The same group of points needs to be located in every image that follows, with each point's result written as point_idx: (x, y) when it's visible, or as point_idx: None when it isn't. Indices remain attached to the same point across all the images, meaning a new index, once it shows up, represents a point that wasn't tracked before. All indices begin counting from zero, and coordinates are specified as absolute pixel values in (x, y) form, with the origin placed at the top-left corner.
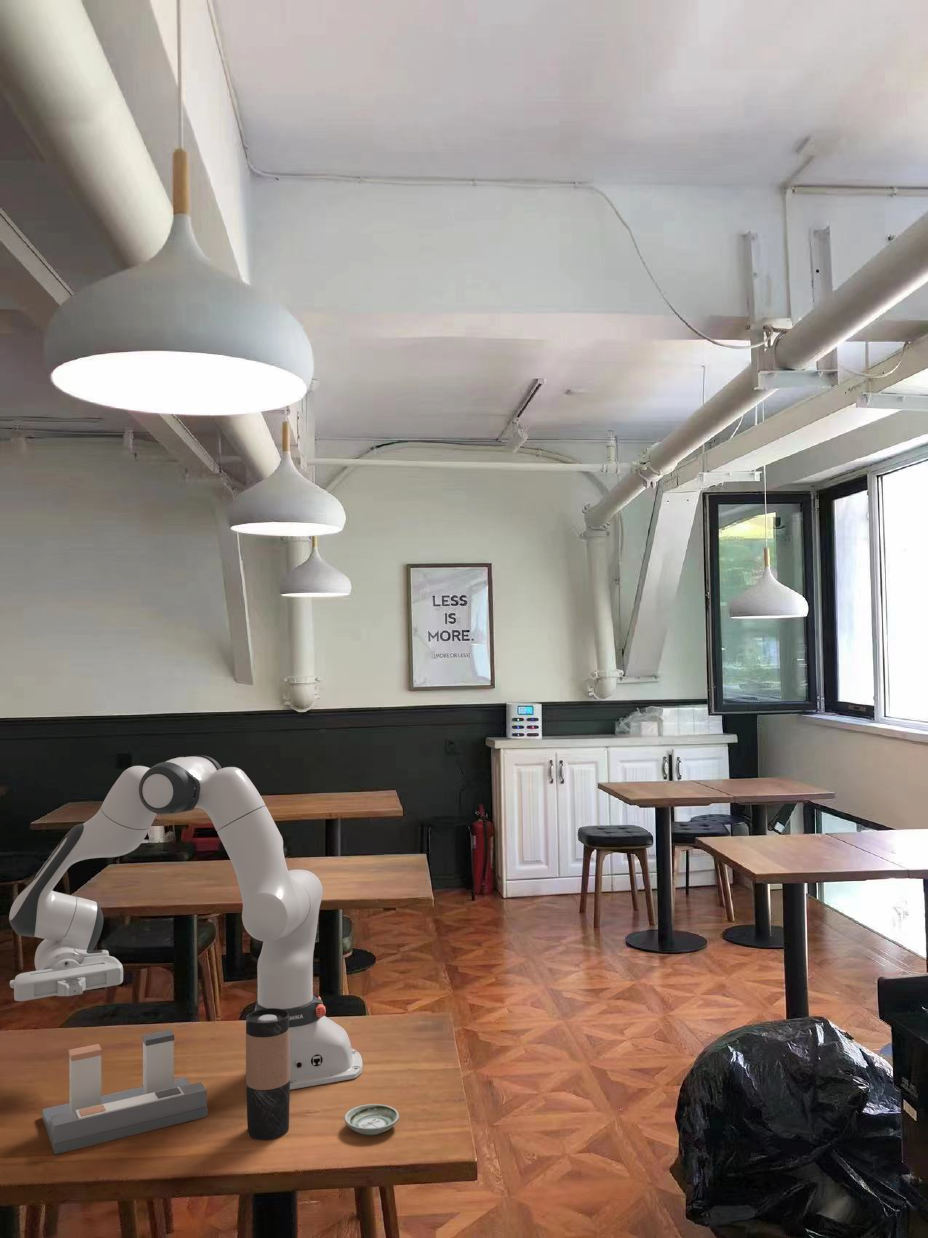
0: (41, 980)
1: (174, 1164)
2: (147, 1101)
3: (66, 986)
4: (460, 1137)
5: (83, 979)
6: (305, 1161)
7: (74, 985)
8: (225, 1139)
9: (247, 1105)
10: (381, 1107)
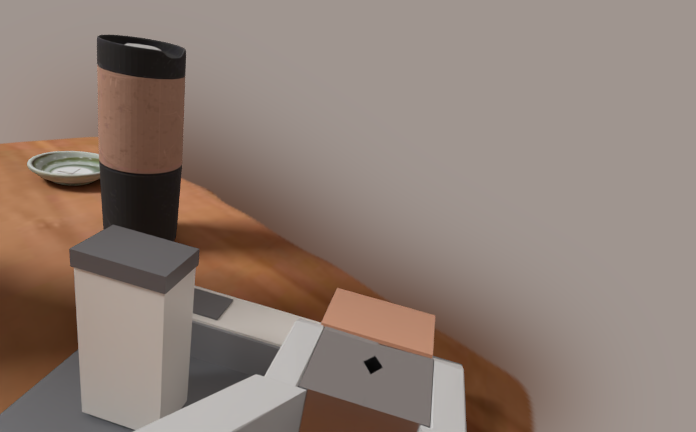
0: None
1: (298, 265)
2: (258, 306)
3: (463, 380)
4: (61, 140)
5: (173, 425)
6: (191, 193)
7: (374, 349)
8: (199, 258)
9: (173, 201)
10: (33, 164)
